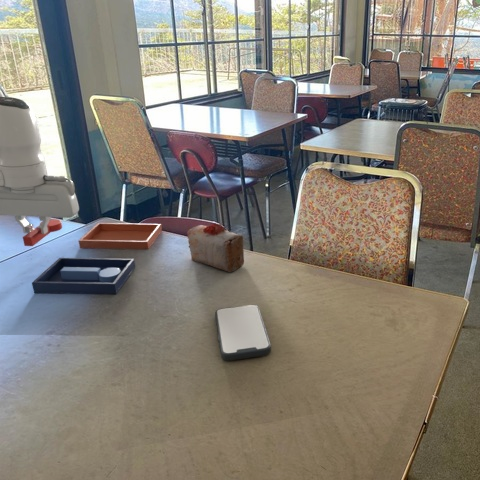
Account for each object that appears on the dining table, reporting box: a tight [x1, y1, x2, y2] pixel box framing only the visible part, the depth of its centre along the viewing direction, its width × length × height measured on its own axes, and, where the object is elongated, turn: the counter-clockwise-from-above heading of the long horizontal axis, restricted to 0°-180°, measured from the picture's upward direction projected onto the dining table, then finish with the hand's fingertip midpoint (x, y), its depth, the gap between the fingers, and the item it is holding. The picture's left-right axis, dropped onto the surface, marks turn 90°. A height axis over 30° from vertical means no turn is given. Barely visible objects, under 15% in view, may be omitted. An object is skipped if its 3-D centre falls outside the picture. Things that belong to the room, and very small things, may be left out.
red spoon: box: [22, 218, 63, 247], centre depth 113 cm, size 13×5×2 cm, turn 1°
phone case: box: [214, 304, 272, 362], centre depth 89 cm, size 9×2×16 cm
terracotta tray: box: [78, 222, 163, 250], centre depth 127 cm, size 17×12×2 cm
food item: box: [187, 221, 245, 273], centre depth 115 cm, size 14×8×10 cm, turn 59°
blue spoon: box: [60, 267, 121, 283], centre depth 107 cm, size 13×5×2 cm, turn 91°
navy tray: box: [31, 257, 136, 295], centre depth 107 cm, size 17×12×2 cm
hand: (36, 232), depth 110 cm, fingers closed on red spoon, 2 cm apart
